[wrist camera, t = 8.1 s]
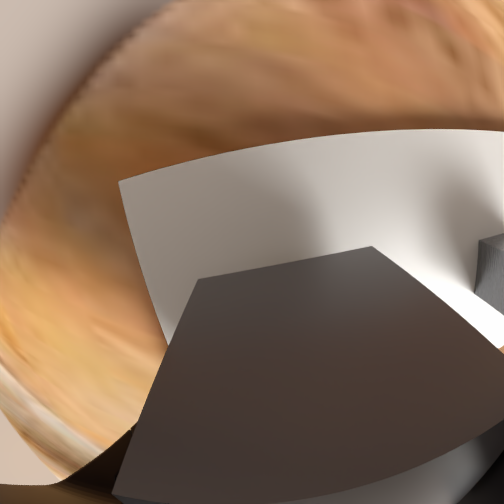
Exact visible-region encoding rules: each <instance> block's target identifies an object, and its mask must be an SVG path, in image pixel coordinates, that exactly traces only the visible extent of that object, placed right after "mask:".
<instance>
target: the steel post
mask: <svg viewBox="0 0 504 504" xmlns="http://www.w3.org/2000/svg"><path fill="white" fill-rule="evenodd" d="M474 294H475V295H476V296H478V297H479V298H481V299H482V300H483V301H485V302H486V303H487V304H489V305H490V306H492V307H493V308H494V309H496V310H497V311H498V312H500V313H501V314H502V315H503V316H504V233H502V234H499V235H495V236H492V237H488V238H484V239H481V240H479V243H478V259H477V271H476V281H475V289H474Z"/></svg>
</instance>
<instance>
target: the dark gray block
mask: <svg viewBox="0 0 504 504" xmlns="http://www.w3.org/2000/svg"><path fill="white" fill-rule="evenodd" d="M503 450H504V354H503V353H502V352H501V351H500V350H499V349H498V348H497V347H495V346H494V345H493V344H492V343H491V342H490V341H489V340H488V339H487V338H486V337H485V336H484V335H482V334H481V333H480V332H479V331H478V330H477V329H476V328H475V327H473V326H472V325H471V324H470V323H469V322H468V321H467V320H465V319H464V318H463V317H462V316H461V315H460V314H459V313H457V312H456V311H455V310H454V309H453V308H451V307H450V306H449V305H448V304H447V303H445V302H444V301H443V300H442V299H441V298H439V297H438V296H437V295H436V294H434V293H433V292H432V291H431V290H429V289H428V288H427V287H426V286H424V285H423V284H422V283H421V282H419V281H418V280H417V279H416V278H414V277H413V276H412V275H410V274H409V273H408V272H406V271H405V270H404V269H403V268H401V267H400V266H399V265H397V264H396V263H395V262H393V261H392V260H391V259H389V258H388V257H387V256H385V255H384V254H382V253H381V252H380V251H378V250H377V249H376V248H374V247H373V246H369V247H364V248H359V249H354V250H349V251H344V252H339V253H334V254H329V255H324V256H319V257H314V258H308V259H303V260H298V261H293V262H288V263H282V264H277V265H272V266H267V267H261V268H256V269H251V270H245V271H240V272H234V273H229V274H223V275H218V276H212V277H207V278H201V279H198V280H197V282H196V284H195V287H194V289H193V291H192V293H191V295H190V298H189V300H188V302H187V304H186V307H185V309H184V311H183V313H182V316H181V318H180V320H179V323H178V325H177V327H176V330H175V332H174V334H173V337H172V339H171V341H170V344H169V346H168V348H167V351H166V353H165V355H164V358H163V360H162V363H161V365H160V367H159V370H158V372H157V375H156V377H155V380H154V382H153V384H152V387H151V389H150V392H149V394H148V397H147V399H146V402H145V404H144V407H143V410H142V412H141V415H140V417H139V420H138V422H137V425H136V428H135V430H134V433H133V435H132V438H131V441H130V443H129V446H128V449H127V452H126V454H125V457H124V460H123V463H122V465H121V468H120V471H119V474H118V477H117V479H116V482H115V485H114V488H113V491H112V495H114V496H115V497H116V498H117V499H118V500H120V501H121V502H122V503H123V504H457V503H458V502H459V501H460V500H461V499H462V498H463V497H464V496H465V495H466V494H467V493H468V492H469V491H470V490H471V489H472V488H473V487H474V486H475V484H476V483H477V482H478V481H479V480H480V479H481V478H482V476H483V475H484V474H485V473H486V472H487V470H488V469H489V468H490V467H491V466H492V464H493V463H494V462H495V461H496V459H497V458H498V457H499V455H500V454H501V453H502V451H503Z"/></svg>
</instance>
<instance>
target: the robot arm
mask: <svg viewBox="0 0 504 504" xmlns="http://www.w3.org/2000/svg"><path fill="white" fill-rule="evenodd" d="M136 425H137V423H136V424H135V425H134V426H132V427H131V430H128V431H127V432H126V433H125V434H124V435H123V436H122V437H121V438H119V439H118V440H117V441H116V442H115V443H114V444H113V445H111V446H110V447H109V448H108V449H106V450H105V451H104V452H103V453H101V454H100V455H99V456H97V457H96V458H95V459H93V460H92V461H91V462H89V463H88V464H86V465H85V466H83V467H82V468H81V469H79V470H78V471H76V472H75V473H73V474H72V475H71V476H69V477H68V478H66V479H64V480H62V481H60V482H58V483H55V484H51V485H8V484H0V504H123V503H122V502H121V501H120V500H118V499H117V498H116V497H115V496H114V495H112V491H113V488H114V485H115V482H116V479H117V477H118V474H119V471H120V468H121V465H122V463H123V460H124V457H125V454H126V452H127V449H128V446H129V443H130V441H131V438H132V435H133V433H134V430H135V428H136ZM457 504H504V450H503V451H502V453H501V454H500V455H499V457H498V458H497V459H496V461H495V462H494V463H493V464H492V466H491V467H490V468H489V469H488V470H487V472H486V473H485V474H484V475H483V476H482V478H481V479H480V480H479V481H478V482H477V483H476V484H475V486H474V487H473V488H472V489H471V490H470V491H469V492H468V493H467V494H466V495H465V496H464V497H463V498H462V499H461V500H460V501H459V502H458V503H457Z"/></svg>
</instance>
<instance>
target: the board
mask: <svg viewBox="0 0 504 504" xmlns="http://www.w3.org/2000/svg"><path fill="white" fill-rule="evenodd" d="M118 183H119V188H120V192H121V197H122V201H123V205H124V209H125V213H126V217H127V221H128V225H129V229H130V232H131V236H132V240H133V243H134V247H135V250H136V254H137V257H138V260H139V264H140V267H141V270H142V273H143V276H144V279H145V283H146V286H147V289H148V292H149V295H150V297H151V300H152V303H153V306H154V309H155V312H156V314H157V317H158V320H159V323H160V325H161V328H162V331H163V333H164V336H165V338H166V341H167V343H168V346H169V344H170V341H171V339H172V337H173V334H174V332H175V330H176V327H177V325H178V323H179V320H180V318H181V316H182V313H183V311H184V309H185V307H186V304H187V302H188V300H189V298H190V295H191V293H192V291H193V289H194V287H195V284H196V282H197V280H198V279H201V278H207V277H212V276H218V275H223V274H229V273H234V272H240V271H245V270H251V269H256V268H261V267H267V266H272V265H277V264H282V263H288V262H293V261H298V260H303V259H308V258H314V257H319V256H324V255H329V254H334V253H339V252H344V251H349V250H354V249H359V248H364V247H369V246H373V247H374V248H376V249H377V250H378V251H380V252H381V253H382V254H384V255H385V256H387V257H388V258H389V259H391V260H392V261H393V262H395V263H396V264H397V265H399V266H400V267H401V268H403V269H404V270H405V271H406V272H408V273H409V274H410V275H412V276H413V277H414V278H416V279H417V280H418V281H419V282H421V283H422V284H423V285H424V286H426V287H427V288H428V289H429V290H431V291H432V292H433V293H434V294H436V295H437V296H438V297H439V298H441V299H442V300H443V301H444V302H445V303H447V304H448V305H449V306H450V307H451V308H453V309H454V310H455V311H456V312H457V313H459V314H460V315H461V316H462V317H463V318H464V319H465V320H467V321H468V322H469V323H470V324H471V325H472V326H473V327H475V328H476V329H477V330H478V331H479V332H480V333H481V334H482V335H484V336H485V337H486V338H487V339H488V340H489V341H490V342H491V343H492V344H493V345H494V346H495V347H497V348H500V347H501V346H503V345H504V316H503V315H502V314H501V313H500V312H498V311H497V310H496V309H494V308H493V307H492V306H490V305H489V304H487V303H486V302H485V301H483V300H482V299H481V298H479V297H478V296H476V295H475V294H474V289H475V281H476V271H477V259H478V243H479V240H481V239H484V238H488V237H492V236H495V235H499V234H502V233H504V132H499V131H485V130H462V129H414V130H390V131H374V132H361V133H350V134H340V135H331V136H322V137H314V138H307V139H300V140H293V141H286V142H280V143H274V144H268V145H262V146H257V147H251V148H246V149H241V150H236V151H231V152H227V153H222V154H217V155H213V156H208V157H204V158H200V159H196V160H192V161H188V162H184V163H180V164H176V165H172V166H168V167H165V168H161V169H157V170H154V171H150V172H147V173H144V174H140V175H137V176H134V177H130V178H127V179H124V180H121V181H118Z"/></svg>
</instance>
